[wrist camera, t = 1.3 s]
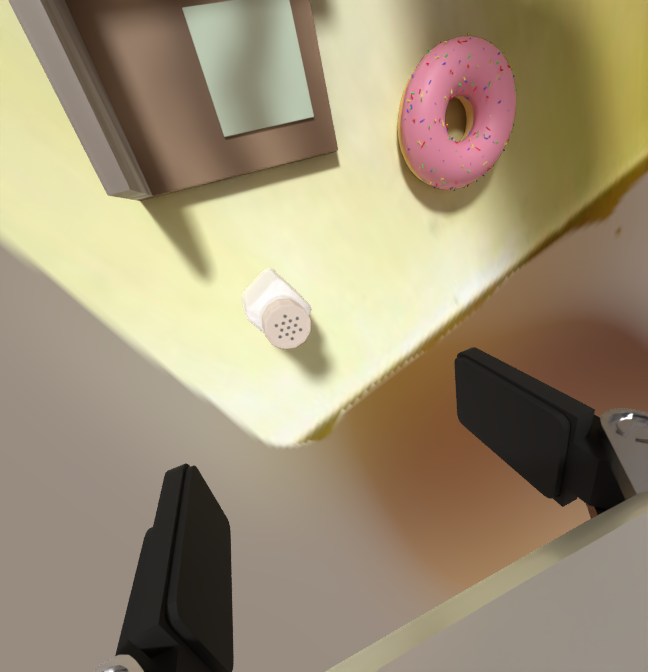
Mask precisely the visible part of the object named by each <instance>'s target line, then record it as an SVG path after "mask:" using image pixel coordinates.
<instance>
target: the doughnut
mask: <svg viewBox="0 0 648 672" xmlns="http://www.w3.org/2000/svg"><path fill="white" fill-rule="evenodd" d="M504 54H505V53H501V52H500V51H499V50H498V49H497V48H496V47H495V46H494V45H492V44H491V42H488V41H486V40H485V39H482V38H479V37H474V36H469V33H468V34H467V36H461V37H456V38H453V39H450V40H447V41H444V42H442V43H441V42H440V44H438V45H437V46H435V47H434V48H433V49H431V50H430V51H429V50H428V53H427V54H426V55H425V56H424V57H423V58H422V60H421V61H420V63H419V64H418V66H417V67H416V69H415V70H414V72H413V73H412V75H411V77H410V78H409V80H408V82H407V85H406V87H405V89H404V92H403V95H402V98H401V102H400V107H399V113H398V138H399V144H400V148H401V152H402V155H403V157H404V159H405V161H406V163H407V165H408V167H409V168H410V170H411V171H412V172H413V173H414V175H415V176H416V177H418V178H419V179H420V180H421V181H423V182H424V183H426V184H428V185H431V186H434V188H435V187H437V188H438V189H444V190H452V189H454V191H455V189H458V188H461V187H463V188H465V186H466V185H467V187H468V185H469V184H470V183H472V182H474V181H477V180H478V179H479V178H480V177H481V176H484V175H483V174H485V173H486V172H487V171H488V170H489V169H491V167H493V166H494V165H493V164H494V163H495V162H496V161H497V159H498V158H499V156H500V155H501V153H502V151H505V150H504V148H505V146H506V145H507V144H508V143H507V142H508V140H509V136H510V134H511V133H512V127H513V126H514V124H513V123H514V118H515V111H516V88H515V83H514V78H513V77H514V76H513V75H512V71H511V70H512V69H510V66H509V64H508V62H507V60H506V59H505V57H504V56H503V55H504ZM453 97H456V98H458V99H459V100H460V101H461V102H462V104H463V106H464V108H465V111H466V118H467V123H466V129H465V133H464V135H463V137H462V139H461V140H460V141H459V142H456V141H455V142H454V141H453V140H452V139H453V137H452V138H450V137H449V135H448V132H447V130H448V128H447V125H448V124H446V126H445V112H446V108H447V107H448V106H447V105H448V102H449V100H450V99H452V98H453ZM446 128H447V129H446Z"/></svg>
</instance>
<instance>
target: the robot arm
mask: <svg viewBox="0 0 648 672" xmlns="http://www.w3.org/2000/svg"><path fill="white" fill-rule="evenodd" d="M455 380H456V398H457V415H458V419H459V421H460V422H461V423H462V424H463V425H464V426H465V427H466V428H467V429H468V430H469V431H470V432H472V433H473V434H474V435H475V436H476V437H477V438H479V439H480V440H481V441H482V442H483V443H484V444H485V445H487V446H488V447H489V448H490V449H491V450H492V451H493V452H495V453H496V454H497V455H498V456H499V457H501V459H503V460H504V461H505V462H506V463H507V464H508V465H510V466H511V467H512V468H513V469H514V470H515V471H516V472H518V473H519V474H520V475H521V476H522V477H523V478H524V479H526V480H527V481H528V482H529V483H530V484H531V485H532V486H534V487H535V488H536V489H537V490H538V491H539V492H541V493H542V494H543V495H544V496H546V497H547V498H553V499H554V500H555V501H557V502H558V503H559V504H560V505H561V506H562V507H563V506H565V505H567V504H569V503H571V502H572V501H574V500H576V499H577V497H579V498H580V499H581V500H583V501H584V502H585V503H586V505H587V507H588V511H589V514H590V517H591V519H590V520H588V521H586V522H584V523H583V524H581V525H579V526H577V527H576V528H574V529H572V530H570V531H569V532H567V533H565V534H563V535H562V536H560V537H558V538H556V539H554V540H553V541H551V542H549V543H547V544H546V545H544V546H542V547H540V548H539V549H537V550H535V551H533V552H532V553H530V554H528V555H526V556H525V557H523V558H521V559H519V560H517V561H516V562H514V563H512V564H511V565H509V566H507V567H505V568H503V569H502V570H500V571H498V572H497V573H495V574H493V575H491V576H490V577H488V578H486V579H484V580H483V581H481V582H479V583H477V584H476V585H474V586H472V587H470V588H469V589H467V590H465V591H463V592H462V593H460V594H458V595H457V596H455V597H453V598H451V599H450V600H448V601H446V602H444V603H443V604H441V605H439V606H437V607H436V608H434V609H432V610H431V611H429V612H427V613H425V614H423V615H422V616H420V617H418V618H417V619H415V620H413V621H411V622H410V623H408V624H406V625H404V626H403V627H401V628H399V629H398V630H396V631H394V632H392V633H391V634H389V635H388V636H386V637H384V638H382V639H381V640H379V641H377V642H375V643H374V644H372V645H370V646H368V647H367V648H365V649H363V650H362V651H360V652H358V653H356V654H355V655H353V656H351V657H350V658H348V659H346V660H344V661H343V662H341V663H339V664H338V665H336V666H334V667H332V668H331V669H329V670H327V671H326V672H648V413H646V412H642V411H638V410H633V409H612V410H608V411H606V412H605V413H603V414H602V416H601V418H599V417H598V416H596V415H594V411H595V410H594V409H592V408H591V407H589V406H587V405H585V404H583V403H581V402H579V401H577V400H575V399H574V398H572V397H570V396H568V395H566V394H564V393H562V392H560V391H558V390H556V389H554V388H552V387H550V386H549V385H547V384H545V383H543V382H541V381H539V380H537V379H535V378H533V377H531V376H529V375H527V374H525V373H524V372H522V371H520V370H517V369H516V368H514V367H512V366H510V365H508V364H506V363H504V362H502V361H500V360H499V359H497V358H495V357H492V356H491V355H489V354H487V353H485V352H483V351H481V350H479V349H477V348H470V349H468V350H465V351H463V352H460V353H459V354H458V355H457V358H456V359H455ZM230 537H231V535H230V525H229V521H228V519H227V517H226V515H225V514H224V512H223V510H222V509H221V507H220V505H219V504H218V502H217V500H216V499H215V497H214V495H213V494H212V492H211V490H210V489H209V487H208V485H207V484H206V482H205V480H204V479H203V477H202V475H201V474H200V472H199V470H198V469H197V467H196V466H191V467H190V466H189V465H188V464H184V465H181V466H178V467H176V468H173V469H171V470H169V471H167V472H166V473H165V477H164V481H163V485H162V490H161V494H160V499H159V503H158V508H157V512H156V517H155V521H154V525H153V527H152V528H150V529H149V530H148V531H147V532H146V535H145V537H144V541H143V545H142V549H141V553H140V558H139V562H138V566H137V570H136V574H135V578H134V582H133V586H132V590H131V595H130V598H129V602H128V606H127V610H126V615H125V619H124V623H123V627H122V631H121V635H120V639H119V643H118V647H117V651H116V655H115V657H113V658H110V659H108V660H106V661H105V662H104V663H102V664H101V665H100V666H98V667H97V668H96V669H95V670H94V671H93V672H232V670H233V622H232V621H233V620H232V578H231V538H230Z"/></svg>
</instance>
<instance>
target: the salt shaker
mask: <svg viewBox="0 0 648 672" xmlns="http://www.w3.org/2000/svg"><path fill="white" fill-rule="evenodd" d="M241 298H242V302H243V307H244V311H245V315H246V317H247V319H248V320H249V321H250V322H251V323H252V324H254V325H255V326H256V327H257V328H258V329H260V330H261V331H262V332H263V333H265V336H266V337H267V338H268V340H269V341H270V343H271V344H272V345H274V346H276V347H279V348H281V349H290V348H296V347H297V346H299V345H300V344H302V343H303V342H305V341H306V339H307V337H308V335H309V334H310V332H311V319H310V317H309V316H310V312H311V307H310V305H309V303H308V302H307V301H306V300H305V299H304V298H303V297H302V296H301V295H300V294H299V293H298V292H297V291H296V290H295V289H294V288H293V287H292V286H291V285H290V284H289V283H287V282H286V281H285V280H284V279H283V278H282V277H281V276H280V275H279V274H278V273H277V272H276V271H275V270H273V269H271V268H267V269H265V270H263V271H262V272H261V274H260V275H259V276H258V277H257V278H256V279H255V280H254V281H253V282H252V283H251V285H250V286H249V287H248V288H247V289H246V290H245V291H244V292H243V294H242V297H241Z"/></svg>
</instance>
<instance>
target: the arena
mask: <svg viewBox="0 0 648 672" xmlns="http://www.w3.org/2000/svg"><path fill="white" fill-rule="evenodd" d="M9 2H10V4H11V6H12V8H13V10H14V12H15V14H16V16H17V18H18V20H19V22H20V24H21V26H22V28H23V30H24V32H25V34H26V36H27V38H28V40H29V42H30V44H31V46H32V48H33V50H34V52H35V53H36V55H37V57H38V59H39V61H40V63H41V65H42V67H43V69H44V71H45V73H46V75H47V77H48V79H49V81H50V83H51V85H52V87H53V89H54V91H55V93H56V95H57V97H58V99H59V101H60V103H61V105H62V107H63V108H64V110H65V112H66V114H67V116H68V118H69V120H70V122H71V124H72V126H73V128H74V130H75V132H76V134H77V136H78V138H79V140H80V142H81V144H82V146H83V148H84V150H85V152H86V154H87V156H88V158H89V160H90V162H91V163H92V165H93V167H94V169H95V171H96V173H97V175H98V177H99V179H100V181H101V183H102V185H103V187H104V189H105V191H106V193H107V195H109V196H115V197H121V198H126V199H132V200H138V201H141V200H145V199H149V198H153V197H157V196H161V195H165V194H169V193H173V192H177V191H181V190H185V189H189V188H193V187H197V186H201V185H205V184H209V183H213V182H217V181H221V180H225V179H229V178H233V177H237V176H241V175H245V174H249V173H253V172H257V171H261V170H265V169H269V168H273V167H277V166H281V165H285V164H289V163H293V162H297V161H301V160H305V159H309V158H313V157H317V156H321V155H325V154H329V153H333V152H335V151H337V150H338V147H337V142H336V137H335V131H334V126H333V121H332V115H331V110H330V105H329V100H328V94H327V89H326V84H325V79H324V73H323V68H322V63H321V57H320V52H319V47H318V42H317V36H316V31H315V26H314V21H313V15H312V10H311V5H310V0H9Z"/></svg>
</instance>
